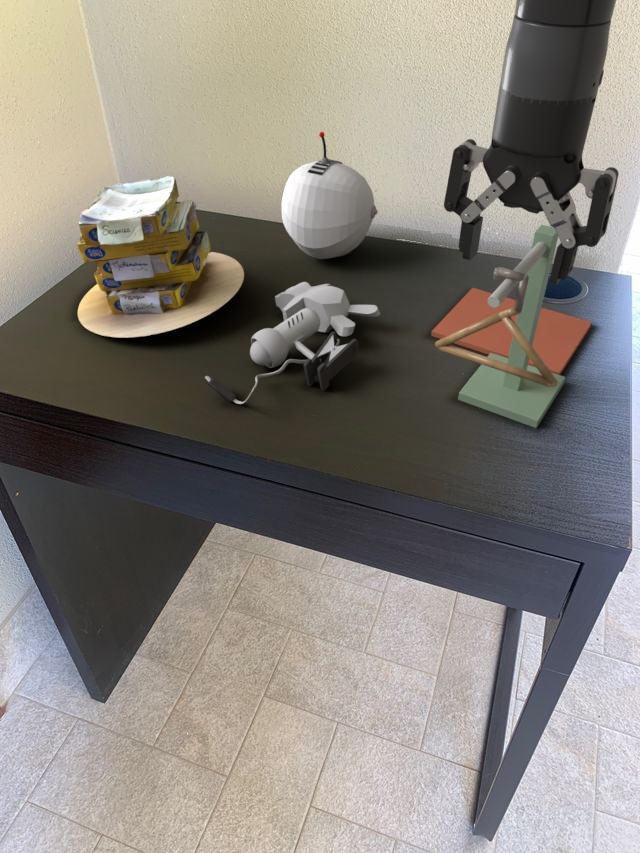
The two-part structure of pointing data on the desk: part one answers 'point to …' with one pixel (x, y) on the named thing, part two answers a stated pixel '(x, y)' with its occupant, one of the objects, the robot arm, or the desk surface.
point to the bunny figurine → (323, 306)
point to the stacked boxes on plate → (150, 262)
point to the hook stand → (503, 388)
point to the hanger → (505, 317)
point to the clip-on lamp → (291, 334)
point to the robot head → (327, 207)
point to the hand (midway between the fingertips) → (511, 268)
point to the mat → (550, 342)
